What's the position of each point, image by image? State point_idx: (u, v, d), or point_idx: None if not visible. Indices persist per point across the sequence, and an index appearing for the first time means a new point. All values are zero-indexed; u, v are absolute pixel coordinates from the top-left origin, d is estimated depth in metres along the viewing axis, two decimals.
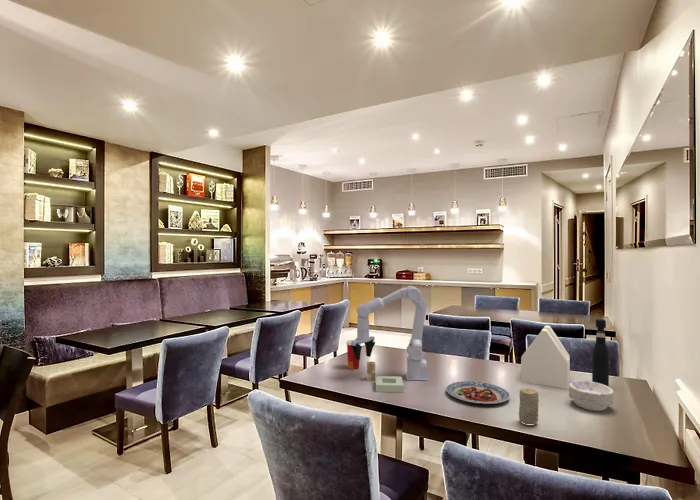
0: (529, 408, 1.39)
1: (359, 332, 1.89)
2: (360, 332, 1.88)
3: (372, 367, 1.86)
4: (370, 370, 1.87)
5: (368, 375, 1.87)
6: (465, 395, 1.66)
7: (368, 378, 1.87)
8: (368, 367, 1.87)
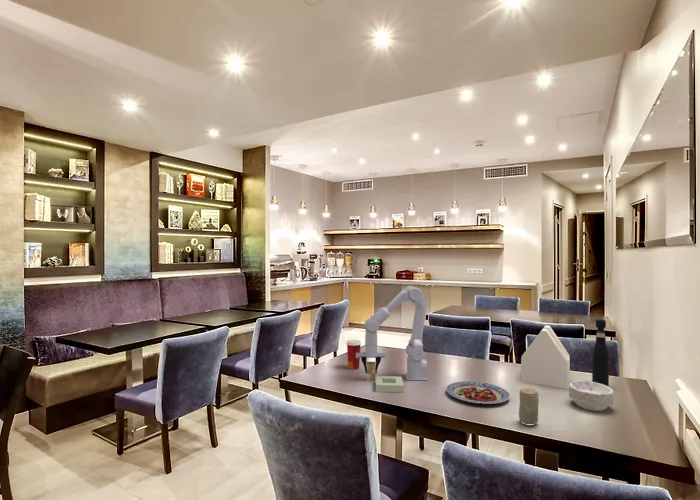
0: (529, 408, 1.39)
1: (365, 346, 1.88)
2: (365, 346, 1.88)
3: (372, 367, 1.86)
4: (370, 370, 1.87)
5: (368, 375, 1.87)
6: (465, 395, 1.66)
7: (368, 378, 1.87)
8: (368, 367, 1.87)
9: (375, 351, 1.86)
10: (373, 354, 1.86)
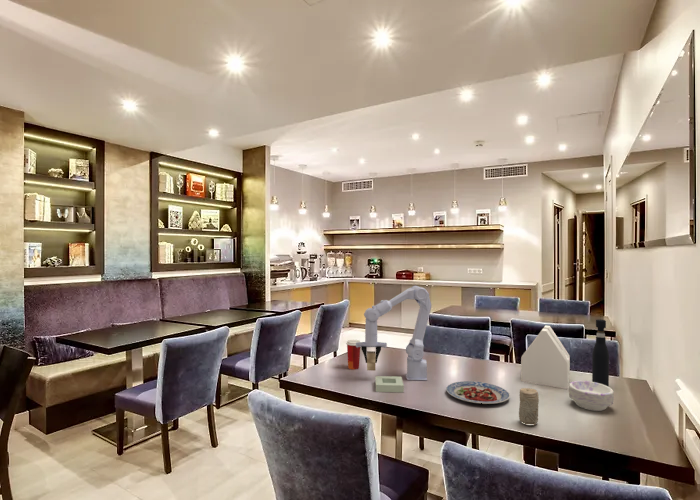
0: (529, 408, 1.39)
1: (365, 335, 1.88)
2: (365, 335, 1.88)
3: (373, 357, 1.86)
4: (370, 359, 1.87)
5: (368, 364, 1.87)
6: (465, 395, 1.66)
7: (368, 367, 1.87)
8: (368, 356, 1.87)
9: (375, 340, 1.86)
10: (373, 343, 1.86)
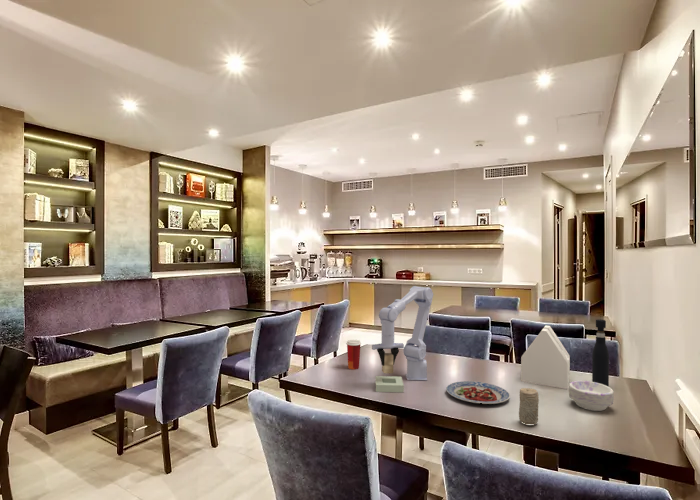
0: (529, 408, 1.39)
1: (382, 336, 1.78)
2: (382, 337, 1.78)
3: (390, 359, 1.77)
4: (388, 362, 1.77)
5: (386, 367, 1.77)
6: (465, 395, 1.66)
7: (386, 370, 1.77)
8: (386, 359, 1.77)
9: (393, 341, 1.77)
10: (391, 345, 1.76)
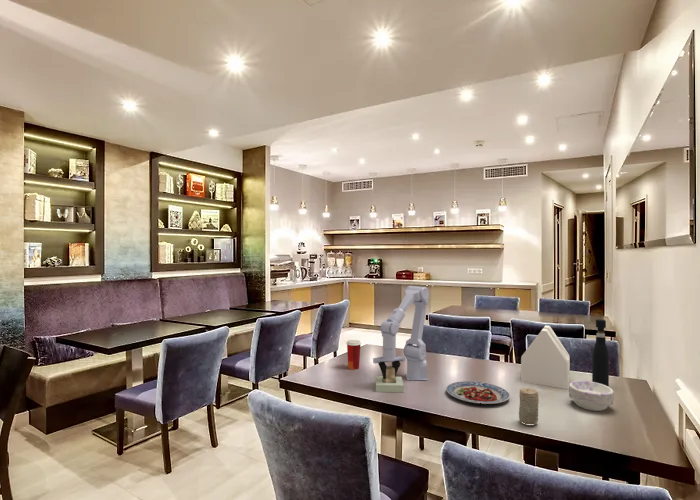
0: (529, 408, 1.39)
1: (383, 350, 1.77)
2: (384, 350, 1.77)
3: (392, 372, 1.76)
4: (390, 375, 1.76)
5: (388, 381, 1.76)
6: (465, 395, 1.66)
7: None
8: (388, 372, 1.76)
9: (394, 355, 1.77)
10: (393, 358, 1.76)
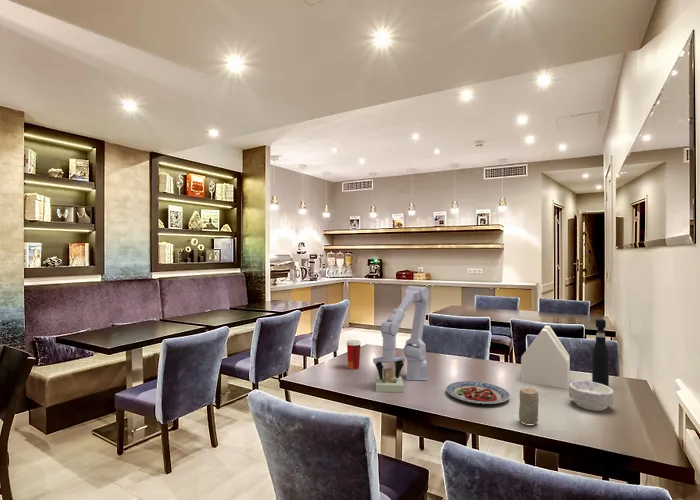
0: (529, 408, 1.39)
1: (383, 350, 1.77)
2: (384, 350, 1.77)
3: (392, 374, 1.76)
4: (390, 377, 1.76)
5: None
6: (465, 395, 1.66)
7: None
8: (388, 374, 1.76)
9: (394, 355, 1.77)
10: (393, 358, 1.76)
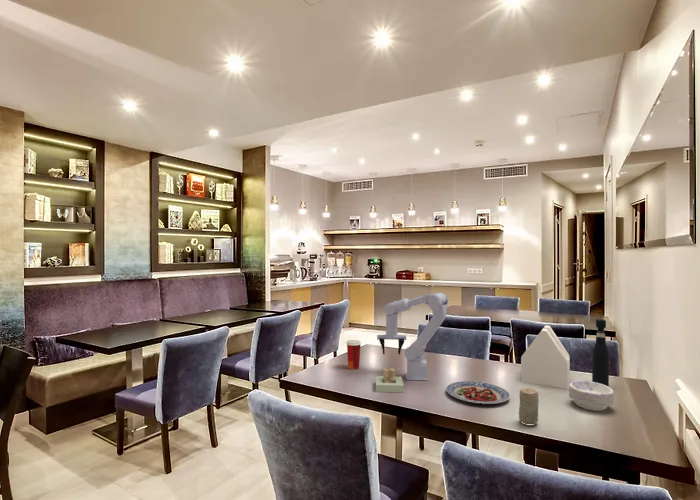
0: (529, 408, 1.39)
1: (386, 328, 1.99)
2: (386, 328, 1.98)
3: (392, 374, 1.77)
4: (390, 377, 1.76)
5: None
6: (465, 395, 1.66)
7: None
8: (388, 374, 1.76)
9: (396, 333, 1.97)
10: (394, 336, 1.96)
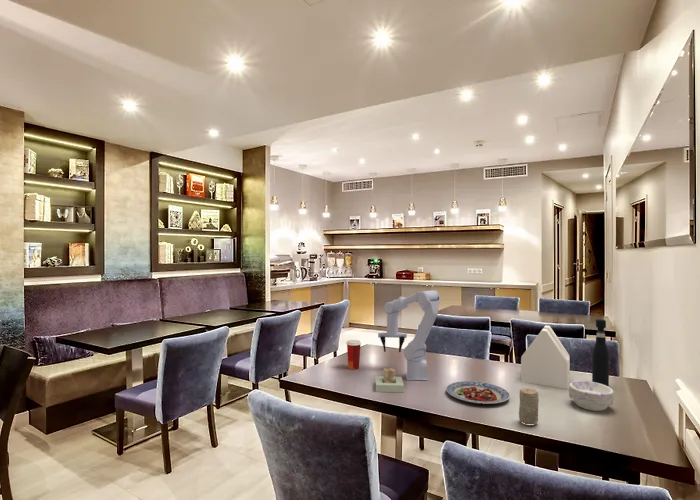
0: (529, 408, 1.39)
1: None
2: (387, 326, 2.03)
3: (392, 374, 1.77)
4: (390, 377, 1.76)
5: None
6: (465, 395, 1.66)
7: None
8: (388, 374, 1.76)
9: (396, 331, 2.02)
10: (394, 334, 2.01)
